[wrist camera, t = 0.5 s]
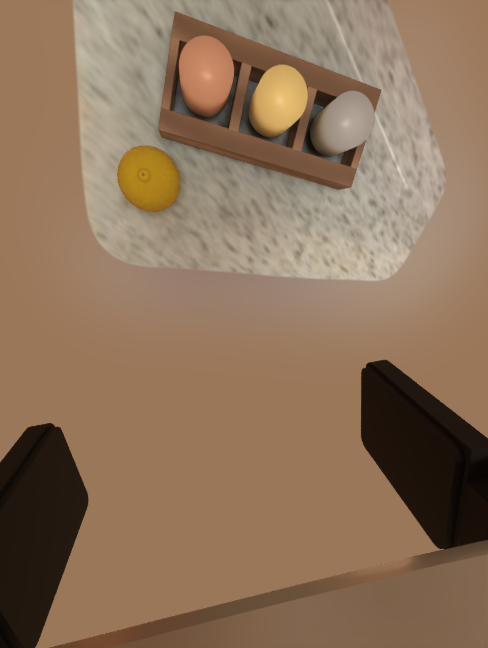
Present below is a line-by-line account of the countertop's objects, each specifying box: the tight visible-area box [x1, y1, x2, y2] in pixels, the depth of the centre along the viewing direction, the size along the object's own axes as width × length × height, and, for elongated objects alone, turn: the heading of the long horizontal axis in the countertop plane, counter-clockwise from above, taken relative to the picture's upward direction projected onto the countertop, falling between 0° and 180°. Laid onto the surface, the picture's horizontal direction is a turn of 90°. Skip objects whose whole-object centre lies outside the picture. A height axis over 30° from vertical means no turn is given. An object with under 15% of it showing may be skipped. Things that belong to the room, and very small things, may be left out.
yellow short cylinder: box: [249, 65, 308, 138], centre depth 29 cm, size 4×4×4 cm
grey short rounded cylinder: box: [310, 91, 374, 156], centre depth 30 cm, size 4×4×4 cm
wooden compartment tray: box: [158, 12, 381, 189], centre depth 31 cm, size 9×20×3 cm, turn 76°
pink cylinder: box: [179, 36, 234, 117], centre depth 27 cm, size 4×4×4 cm
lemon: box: [117, 146, 180, 212], centre depth 30 cm, size 6×6×8 cm
